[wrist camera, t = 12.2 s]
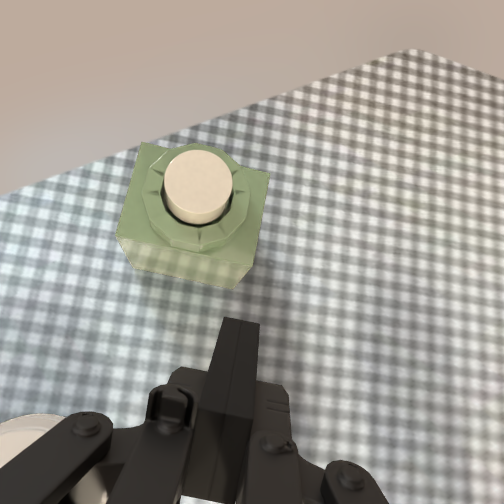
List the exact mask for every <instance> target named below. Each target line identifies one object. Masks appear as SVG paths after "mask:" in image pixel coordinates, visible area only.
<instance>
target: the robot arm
mask: <svg viewBox="0 0 504 504" xmlns="http://www.w3.org/2000/svg"><path fill="white" fill-rule="evenodd" d="M259 330H260V324H258V323H254V322H249V321H244V320H239V319H234V318H229V317H224V318H223V322H222V325H221V329H220V332H219V336H218V339H217V342H216V346H215V349H214V353H213V356H212V360H211V363H210V366H209V370H208V372H207V371H202V370H197V369H192V368H187V367H182V366H181V367H180V368H178V369H177V370H175V371H174V372H172V374H171V376H170V378H169V381H168V383H167V384H166V385H160V386H158V387H155V388H154V389H153V390H152V391H151V392H150V393H149V399H148V405H147V411H146V418H145V421H144V424H142V425H140V426H136V427H132V428H117V429H113V423H112V422H111V420H110V419H109V418H108V417H107V416H105V415H103V414H101V413H96V412H79V413H75V414H72V415H70V416H68V417H66V418H64V419H63V420H62V421H60V422H59V423H58V424H56V425H55V426H54V427H53V428H51V429H50V430H49V431H47V432H46V433H45V434H44V435H42V436H41V437H40V438H38V439H37V440H36V441H35V442H33V443H32V444H31V445H29V446H28V447H27V448H26V449H24V450H23V451H22V452H20V453H19V454H18V455H17V456H15V457H14V458H13V459H11V460H10V461H9V462H8V463H6V464H5V465H4V466H2V467H1V468H0V504H180V499H181V495H184V496H189V497H194V498H198V499H203V500H208V501H213V502H218V503H223V504H235V501H236V504H389V503H388V501H387V500H386V498H385V496H384V495H383V493H382V491H381V490H380V488H379V486H378V485H377V483H376V481H375V480H374V478H373V477H372V476H371V475H370V474H369V472H368V471H366V470H365V469H363V468H362V467H361V466H359V465H357V464H354V463H352V462H349V461H343V460H338V461H332V462H331V463H329V464H328V465H327V467H326V469H325V470H324V469H322V468H320V467H318V466H315V465H313V464H311V463H309V462H308V461H306V460H305V459H303V458H302V457H301V456H300V455H299V454H298V449H297V446H296V444H295V443H294V441H293V440H292V437H291V423H290V414H289V413H290V409H289V395H288V393H287V392H286V391H285V389H284V388H283V386H282V385H277V384H272V383H267V382H262V381H257V380H256V376H257V361H258V346H259Z"/></svg>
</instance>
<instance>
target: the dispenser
mask: <svg viewBox="0 0 504 504" xmlns="http://www.w3.org/2000/svg"><path fill="white" fill-rule="evenodd" d="M190 150H204V151H208V152H211V153H213V154H215V155H217V156H218V157H219V158H221V159H222V160H223V161H224V162H225V163H226V165H227V166H228V168H229V170H230V172H231V175H232V180H233V186H232V191H231V194H230V197H229V201H228V204H227V207H226V209H225V210H224V212H223V213H222V215H221V216H220V217H218V218H217V219H216V220H214V221H212V222H210V223H207V224H202V225H194V224H189V223H186V222H183V221H181V220H180V219H178V218H177V217H176V216H175V215H174V214H173V213H172V212H171V211H170V209H169V207H168V205H167V202H166V198H165V187H164V176H165V172H166V169H167V167H168V165H169V164H170V162H171V161H172V160H173V159H174V158H175V157H176V156H178V155H180V154H181V153H184V152H186V151H190ZM269 179H270V173H266V172H262V171H258V170H254V169H250V168H246V167H242V166H240V165H239V164H238V163H237V162H235V161H234V160H233V159H232V158H231V157H230V156H229V155H228V154H226V153H225V152H224V151H223V150H221V149H218V148H214V147H210V146H206V145H202V144H198V143H193V144H189V145H185V146H180V147H176V148H172V149H169V148H165V147H161V146H157V145H153V144H149V143H145V142H141V145H140V149H139V152H138V156H137V159H136V163H135V167H134V170H133V174H132V177H131V181H130V184H129V188H128V191H127V195H126V198H125V202H124V205H123V209H122V212H121V216H120V219H119V223H118V227H117V230H116V234H115V236H116V238H117V240H118V242H119V244H120V245H121V247H122V249H123V251H124V253H125V255H126V257H127V258H128V260H129V262H130V264H131V266H132V268H135V269H139V270H144V271H149V272H153V273H158V274H163V275H167V276H172V277H177V278H181V279H186V280H190V281H195V282H200V283H204V284H209V285H214V286H218V287H223V288H228V289H232V290H233V289H234V288H235V287H236V285H237V284H238V283H239V282H240V281H241V279H242V278H243V277H244V276H245V274H246V273H247V272H248V271H249V270H250V268H251V267H252V266H253V262H254V256H255V251H256V246H257V241H258V236H259V230H260V225H261V220H262V215H263V210H264V205H265V199H266V194H267V189H268V184H269Z"/></svg>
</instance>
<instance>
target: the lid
mask: <svg viewBox="0 0 504 504" xmlns="http://www.w3.org/2000/svg"><path fill="white" fill-rule="evenodd" d="M64 418H66V417H62V416H58V415H54V414H43V413H42V414H29V415H24V416H20V417H16V418H13V419H10V420H8V421H6V422H3V423H0V468H1V467H2V466H4V465H5V464H6V463H8V462H9V461H10V460H11V459H13V458H14V457H15V456H17V455H18V454H19V453H20V452H22V451H23V450H24V449H26V448H27V447H28V446H29V445H31V444H32V443H33V442H35V441H36V440H37V439H38V438H40V437H41V436H42V435H44V434H45V433H46V432H47V431H49V430H50V429H51V428H53V427H54V426H55V425H56V424H58V423H59V422H60V421H62V420H63V419H64Z"/></svg>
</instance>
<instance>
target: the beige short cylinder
mask: <svg viewBox="0 0 504 504" xmlns="http://www.w3.org/2000/svg"><path fill="white" fill-rule="evenodd" d="M232 186H233V180H232V175H231V172H230V170H229V168H228V166H227V165H226V163H225V162H224V161H223V160H222V159H221V158H219V157H218V156H217V155H215V154H213V153H211V152H208V151H204V150H190V151H186V152H184V153H181V154H180V155H178V156H176V157H175V158H174V159H173V160H172V161H171V162H170V164H169V165H168V167H167V169H166V172H165V176H164V187H165V198H166V202H167V205H168V207H169V209H170V211H171V212H172V213H173V214H174V215H175V216H176V217H177V218H178V219H180V220H181V221H183V222H186V223H189V224H194V225H202V224H207V223H210V222H212V221H214V220H216V219H217V218H218V217H220V216H221V215H222V213H223V212H224V210H225V209H226V207H227V204H228V201H229V197H230V194H231V191H232Z"/></svg>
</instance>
